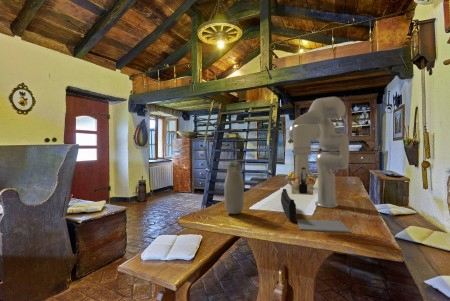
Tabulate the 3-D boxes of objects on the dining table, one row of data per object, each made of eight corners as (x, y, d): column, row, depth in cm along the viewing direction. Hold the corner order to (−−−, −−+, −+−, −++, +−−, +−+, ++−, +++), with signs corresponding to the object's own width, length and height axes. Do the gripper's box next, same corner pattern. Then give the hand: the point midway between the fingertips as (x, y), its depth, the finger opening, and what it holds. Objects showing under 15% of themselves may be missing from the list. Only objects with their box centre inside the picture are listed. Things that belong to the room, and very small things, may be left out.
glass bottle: (222, 215, 123) (221, 161, 122) (229, 210, 132) (229, 160, 131) (239, 217, 119) (239, 162, 118) (246, 212, 128) (246, 160, 127)
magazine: (297, 205, 106) (287, 177, 135) (290, 205, 107) (281, 177, 135) (295, 236, 112) (286, 203, 140) (288, 236, 112) (280, 203, 140)
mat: (296, 220, 113) (296, 219, 113) (340, 222, 109) (341, 221, 109) (299, 230, 100) (299, 228, 100) (350, 232, 96) (350, 231, 96)
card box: (312, 192, 107) (312, 182, 107) (313, 194, 102) (313, 184, 102) (291, 191, 109) (291, 181, 109) (291, 194, 105) (291, 183, 105)
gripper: (291, 151, 114) (291, 188, 115) (295, 152, 98) (295, 195, 98) (307, 151, 113) (307, 188, 114) (314, 152, 96) (314, 196, 97)
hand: (302, 191), depth 106 cm, fingers closed on card box, 5 cm apart
